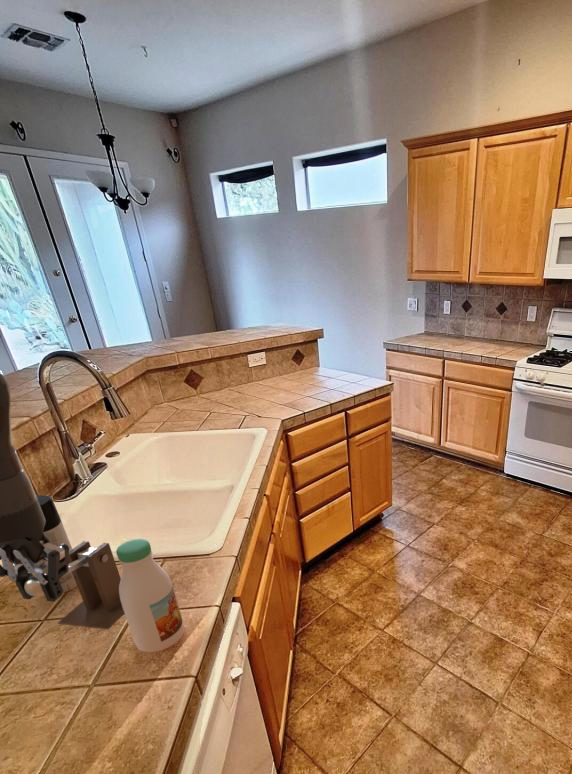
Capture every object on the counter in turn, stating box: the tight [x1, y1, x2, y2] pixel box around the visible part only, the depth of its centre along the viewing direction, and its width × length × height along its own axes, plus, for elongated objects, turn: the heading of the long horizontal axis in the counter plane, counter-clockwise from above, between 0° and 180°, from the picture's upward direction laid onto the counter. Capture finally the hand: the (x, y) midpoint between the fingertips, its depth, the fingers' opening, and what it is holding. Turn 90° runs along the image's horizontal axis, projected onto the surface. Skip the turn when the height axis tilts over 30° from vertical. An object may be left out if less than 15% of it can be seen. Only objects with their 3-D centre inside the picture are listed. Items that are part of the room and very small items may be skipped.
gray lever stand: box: [57, 540, 125, 630], centre depth 80 cm, size 12×10×14 cm
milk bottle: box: [115, 538, 185, 653], centre depth 72 cm, size 8×8×20 cm
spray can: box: [35, 494, 78, 593], centre depth 83 cm, size 7×7×20 cm
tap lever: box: [24, 546, 97, 597], centre depth 73 cm, size 13×4×4 cm, turn 173°
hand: (43, 596), depth 69 cm, fingers closed on tap lever, 3 cm apart
